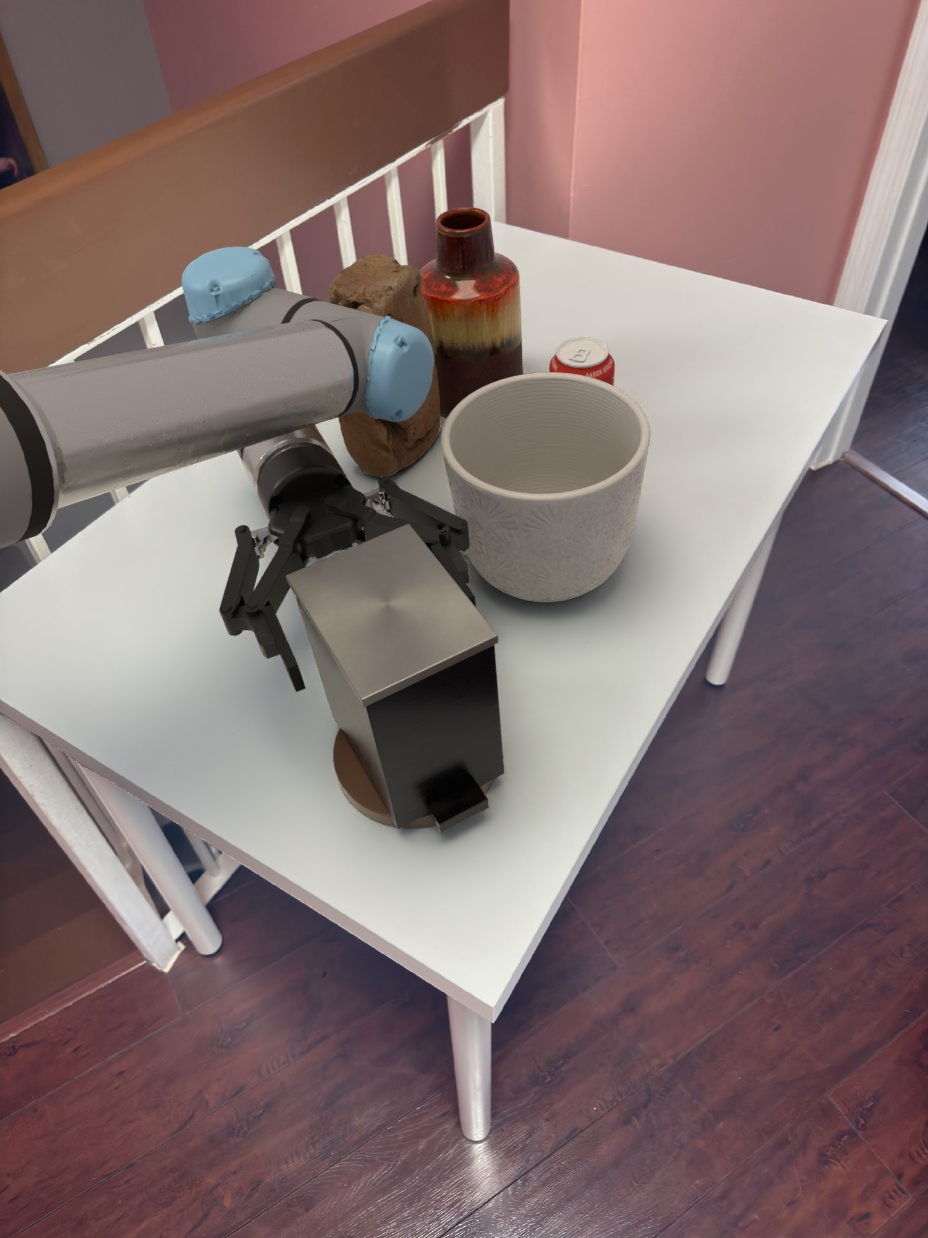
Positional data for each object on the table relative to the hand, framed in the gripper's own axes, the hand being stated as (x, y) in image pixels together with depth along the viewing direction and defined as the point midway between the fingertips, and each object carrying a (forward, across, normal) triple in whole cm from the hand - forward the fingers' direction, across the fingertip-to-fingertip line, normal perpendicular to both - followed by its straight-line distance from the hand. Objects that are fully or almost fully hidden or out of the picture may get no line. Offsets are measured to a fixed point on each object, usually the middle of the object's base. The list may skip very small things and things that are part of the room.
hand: (386, 644), depth 66 cm
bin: (+4, 0, -9) cm, 10 cm away
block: (-34, -13, -11) cm, 38 cm away
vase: (-39, -25, -11) cm, 48 cm away
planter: (-11, -19, -11) cm, 25 cm away
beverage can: (-24, -30, -11) cm, 40 cm away
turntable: (+3, 0, -11) cm, 11 cm away
